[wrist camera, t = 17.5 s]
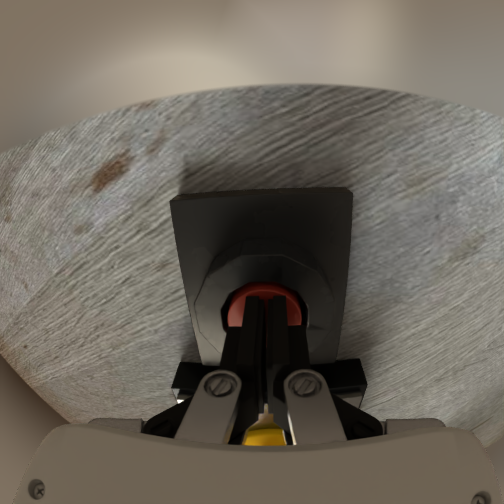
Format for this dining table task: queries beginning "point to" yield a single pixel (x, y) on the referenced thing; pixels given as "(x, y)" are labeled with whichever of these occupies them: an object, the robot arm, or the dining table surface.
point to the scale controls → (265, 257)
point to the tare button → (264, 292)
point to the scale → (336, 375)
